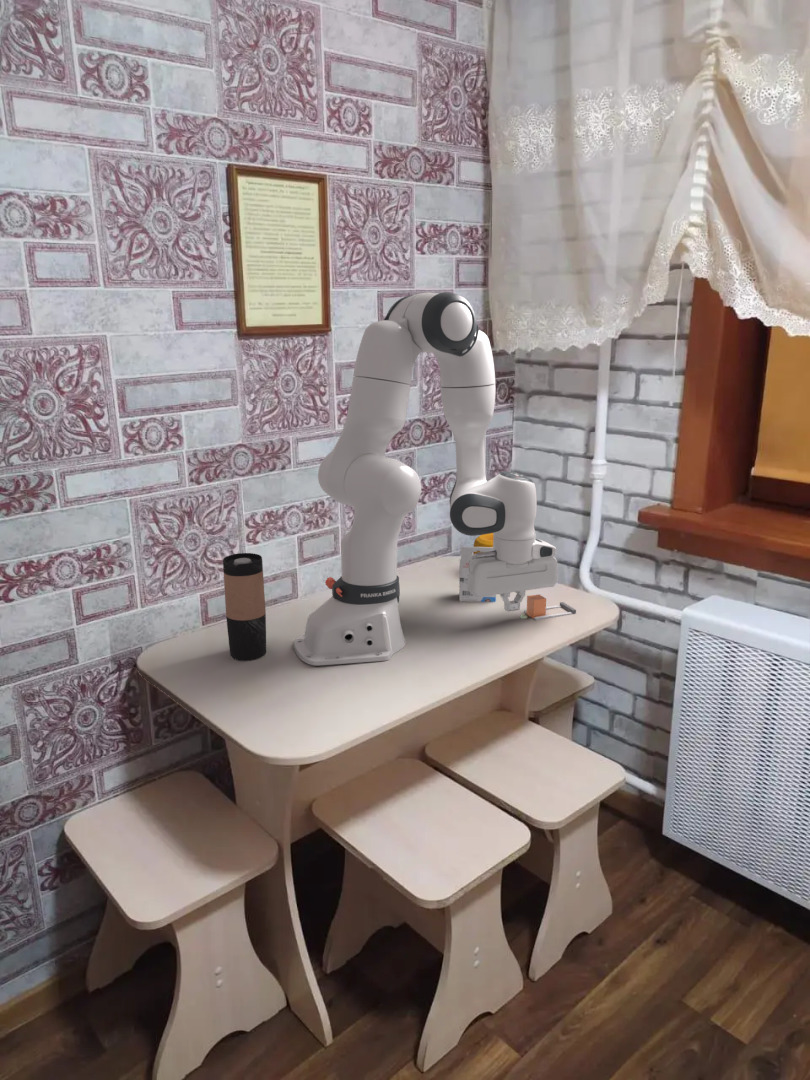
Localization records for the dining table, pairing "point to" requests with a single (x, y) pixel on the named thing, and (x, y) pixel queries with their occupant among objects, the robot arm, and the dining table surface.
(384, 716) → the dining table surface
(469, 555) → the ink box
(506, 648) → the dining table surface
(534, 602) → the block
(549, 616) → the breaker panel
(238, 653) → the travel mug
